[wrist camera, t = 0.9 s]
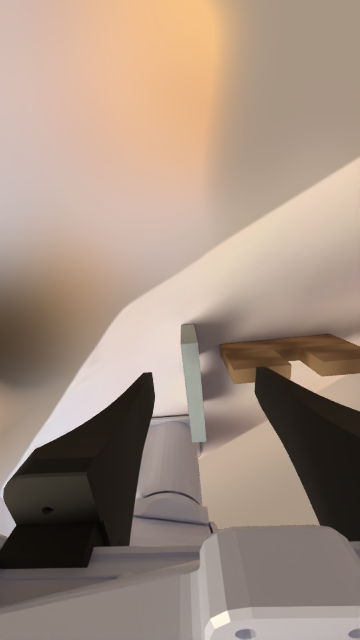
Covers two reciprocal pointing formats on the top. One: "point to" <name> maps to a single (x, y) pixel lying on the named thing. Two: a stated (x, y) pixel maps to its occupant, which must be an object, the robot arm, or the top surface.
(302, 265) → the top surface
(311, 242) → the top surface
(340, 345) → the walnut plate
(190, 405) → the pale green bar
